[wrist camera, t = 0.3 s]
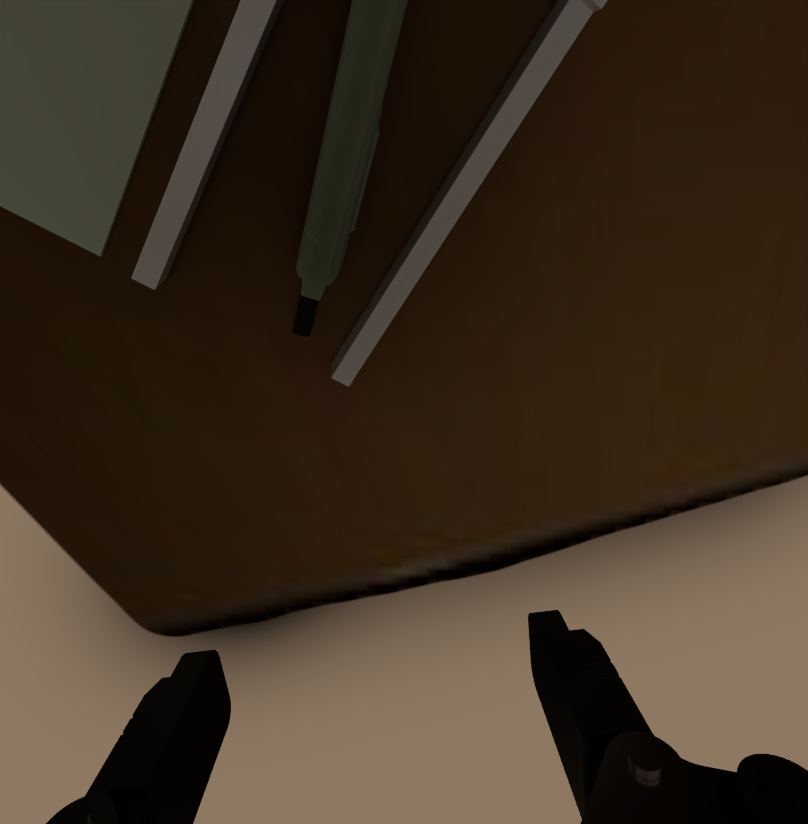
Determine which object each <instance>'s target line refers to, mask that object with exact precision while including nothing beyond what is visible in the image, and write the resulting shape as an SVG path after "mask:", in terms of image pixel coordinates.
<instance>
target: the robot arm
mask: <svg viewBox="0 0 808 824" xmlns="http://www.w3.org/2000/svg"><path fill="white" fill-rule="evenodd" d="M528 623H529V640H530V655H531V668H532V674H533V678H534V683H535V687H536V690H537V693H538V696H539V699H540V701H541V704H542V707H543V710H544V713H545V715H546V718H547V721H548V724H549V727H550V730H551V733H552V736H553V738H554V741H555V744H556V747H557V750H558V753H559V756H560V758H561V761H562V764H563V767H564V770H565V773H566V775H567V778H568V781H569V784H570V787H571V789H572V792H573V795H574V798H575V801H576V804H577V806H578V809H579V812H580V815H581V818H582V821H581V824H808V771H807V770H806V769H804V768H803V767H801V766H799V765H798V764H796V763H794V762H792V761H790V760H787V759H785V758H782V757H779V756H775V755H770V754H754V755H750V756H748V757H746V758H744V759H743V760H742V761H741V762H740V763H739V766H738V768H737V772H732V771H727V770H722V769H715V768H711V767H706V766H701V765H697V764H694V763H691V762H688V761H686V760H684V759H682V758H680V757H679V755H678V754H677V752H676V751H675V750H674V749H673V748H672V747H671V746H669V745H668V744H666V742H664V741H662V740H661V739H659V738H657V737H655V736H654V735H653V733H652V732H651V730H650V728H649V726H648V725H647V723H646V721H645V719H644V718H643V716H642V714H641V713H640V711H639V709H638V707H637V705H636V704H635V702H634V700H633V698H632V697H631V695H630V693H629V692H628V690H627V688H626V686H625V684H624V683H623V681H622V679H621V678H619V675H618V672H617V670H616V669H615V667H614V665H613V664H612V663H611V661H610V658H609V657H608V655H607V653H606V651H605V650H604V648H603V646H602V644H601V643H600V642H599V641H598V640H597V639H595V638H594V637H593V636H592V635H591V634H589V633H588V632H587V631H586V630H585V629H579V630H572V631H569V629H568V627H567V625H566V623H565V621H564V620H563V617H562V615H561V613H560V612H559V611H558V610H553V611H544V612H537V613H529V616H528ZM230 714H231V701H230V695H229V692H228V688H227V684H226V680H225V676H224V672H223V668H222V665H221V661H220V657H219V654H218V652H217V651H216V650H208V651H200V652H192V653H185V654H184V655H183V656H182V657H181V659H180V661H179V662H178V664H177V666H176V668H175V670H174V671H173V673H172V675H171V677H166V678H162V679H161V680H160V681H159V682H157V684H155V686H153V688H152V689H150V691H148V692H147V693H146V694H145V695H144V697H143V698H142V700H141V702H140V703H139V705H138V707H137V709H136V710H135V712H134V714H133V718H132V719H130V721H129V722H128V724H127V726H126V727H125V729H124V731H123V735H121V736H120V738H119V739H118V741H117V743H116V744H115V746H114V748H113V749H112V751H111V753H110V755H109V756H108V758H107V760H106V761H105V763H104V765H103V766H102V768H101V770H100V772H99V773H98V775H97V777H96V778H95V780H94V782H93V783H92V785H91V787H90V789H89V790H88V792H87V794H86V795H85V797H83V798H80V799H78V800H76V801H74V802H72V803H70V804H69V805H67V806H66V807H64V808H63V809H62V810H60V811H59V812H58V813H56V814H55V815H54V816H53V817H52V818H51V819H50V820H49V821H48V822H47V823H46V824H193V822H194V820H195V817H196V814H197V811H198V808H199V806H200V803H201V800H202V797H203V794H204V792H205V789H206V786H207V783H208V781H209V778H210V775H211V772H212V770H213V767H214V764H215V761H216V758H217V756H218V753H219V750H220V747H221V745H222V742H223V739H224V736H225V734H226V731H227V728H228V725H229V720H230Z"/></svg>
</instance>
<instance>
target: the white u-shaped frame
mask: <svg viewBox="0 0 808 824" xmlns="http://www.w3.org/2000/svg"><path fill="white" fill-rule="evenodd" d="M606 1H607V0H557V1H556V3H555V4H554V6H553V8H552V9H551V11H550V12H549V14H548V16H547V17H546V19H545V20H544V22H543V24H542V25H541V27H540V28H539V30H538V32H537V33H536V35H535V36H534V38H533V40H532V41H531V43H530V45H529V46H528V48H527V49H526V51H525V53H524V54H523V56H522V57H521V59H520V61H519V62H518V64H517V65H516V67H515V69H514V70H513V72H512V74H511V75H510V77H509V78H508V80H507V82H506V83H505V85H504V86H503V88H502V90H501V91H500V93H499V94H498V96H497V98H496V99H495V101H494V102H493V104H492V106H491V107H490V109H489V111H488V112H487V114H486V115H485V117H484V119H483V120H482V122H481V123H480V125H479V127H478V128H477V130H476V131H475V133H474V135H473V136H472V138H471V140H470V141H469V143H468V144H467V146H466V148H465V149H464V151H463V152H462V154H461V156H460V157H459V159H458V160H457V162H456V164H455V165H454V167H453V169H452V170H451V172H450V173H449V175H448V177H447V178H446V180H445V181H444V183H443V185H442V186H441V188H440V189H439V191H438V193H437V194H436V196H435V197H434V199H433V201H432V202H431V204H430V206H429V207H428V209H427V210H426V212H425V214H424V215H423V217H422V218H421V220H420V222H419V223H418V225H417V226H416V228H415V230H414V231H413V233H412V235H411V236H410V238H409V239H408V241H407V243H406V244H405V246H404V247H403V249H402V251H401V252H400V254H399V255H398V257H397V259H396V260H395V262H394V263H393V265H392V267H391V268H390V270H389V272H388V273H387V275H386V276H385V278H384V280H383V281H382V283H381V284H380V286H379V288H378V289H377V291H376V292H375V294H374V296H373V297H372V299H371V301H370V302H369V304H368V305H367V307H366V309H365V310H364V312H363V313H362V315H361V317H360V318H359V320H358V321H357V323H356V325H355V326H354V328H353V329H352V331H351V333H350V334H349V336H348V338H347V339H346V341H345V342H344V344H343V346H342V347H341V349H340V350H339V352H338V354H337V355H336V357H335V358H334V360H333V362H332V363H331V378H332V379H334V380H336V381H338V382H340V383H342V384H344V385H346V386H348V387H349V385H350V384H351V382H352V381H353V379H354V378H355V376H356V375H357V373H358V372H359V370H360V369H361V367H362V365H363V364H364V362H365V361H366V359H367V358H368V356H369V355H370V353H371V352H372V350H373V349H374V347H375V346H376V344H377V342H378V341H379V339H380V338H381V336H382V335H383V333H384V332H385V330H386V329H387V327H388V326H389V324H390V323H391V321H392V320H393V318H394V316H395V315H396V313H397V312H398V310H399V309H400V307H401V306H402V304H403V303H404V301H405V300H406V298H407V297H408V295H409V293H410V292H411V290H412V289H413V287H414V286H415V284H416V283H417V281H418V280H419V278H420V277H421V275H422V274H423V272H424V270H425V269H426V267H427V266H428V264H429V263H430V261H431V260H432V258H433V257H434V255H435V254H436V252H437V251H438V249H439V248H440V246H441V244H442V243H443V241H444V240H445V238H446V237H447V235H448V234H449V232H450V231H451V229H452V228H453V226H454V225H455V223H456V221H457V220H458V218H459V217H460V215H461V214H462V212H463V211H464V209H465V208H466V206H467V205H468V203H469V202H470V200H471V198H472V197H473V195H474V194H475V192H476V191H477V189H478V188H479V186H480V185H481V183H482V182H483V180H484V179H485V177H486V175H487V174H488V172H489V171H490V169H491V168H492V166H493V165H494V163H495V162H496V160H497V159H498V157H499V156H500V154H501V153H502V151H503V149H504V148H505V146H506V145H507V143H508V142H509V140H510V139H511V137H512V136H513V134H514V133H515V131H516V130H517V128H518V126H519V125H520V123H521V122H522V120H523V119H524V117H525V116H526V114H527V113H528V111H529V110H530V108H531V107H532V105H533V103H534V102H535V100H536V99H537V97H538V96H539V94H540V93H541V91H542V90H543V88H544V87H545V85H546V84H547V82H548V81H549V79H550V77H551V76H552V74H553V73H554V71H555V70H556V68H557V67H558V65H559V64H560V62H561V61H562V59H563V58H564V56H565V54H566V53H567V51H568V50H569V48H570V47H571V45H572V44H573V42H574V41H575V39H576V38H577V36H578V35H579V33H580V31H581V30H582V28H583V27H584V25H585V24H586V22H587V21H588V19H589V18H590V16H591V15H592V13H593V12H595V11H598V10H600V9H602V7H603V6H604V4H605V3H606ZM283 2H284V0H241V1H240V3H239V6H238V8H237V11H236V13H235V16H234V19H233V21H232V24H231V26H230V29H229V31H228V34H227V36H226V39H225V41H224V44H223V47H222V49H221V52H220V54H219V57H218V59H217V62H216V64H215V67H214V69H213V72H212V74H211V77H210V80H209V82H208V85H207V87H206V90H205V92H204V95H203V97H202V100H201V102H200V105H199V107H198V110H197V113H196V115H195V118H194V120H193V123H192V125H191V128H190V130H189V133H188V135H187V138H186V140H185V143H184V146H183V148H182V151H181V153H180V156H179V158H178V161H177V163H176V166H175V168H174V171H173V174H172V176H171V179H170V181H169V184H168V186H167V189H166V191H165V194H164V196H163V199H162V201H161V204H160V207H159V209H158V212H157V214H156V217H155V219H154V222H153V224H152V227H151V229H150V232H149V234H148V237H147V240H146V242H145V245H144V247H143V250H142V252H141V255H140V257H139V260H138V262H137V265H136V267H135V270H134V273H133V275H132V279H134V280H136V281H138V282H140V283H142V284H144V285H146V286H148V287H150V288H152V289H154V290H156V288H157V287H158V286H159V285H160V284H161V283H162V282H163V281H164V280H165V279H166V278H167V275H168V273H169V271H170V268H171V266H172V264H173V261H174V259H175V256H176V254H177V252H178V249H179V247H180V245H181V242H182V240H183V238H184V235H185V233H186V231H187V228H188V226H189V224H190V221H191V219H192V216H193V214H194V212H195V209H196V207H197V205H198V202H199V200H200V198H201V195H202V193H203V191H204V188H205V186H206V184H207V181H208V179H209V176H210V174H211V172H212V169H213V167H214V165H215V162H216V160H217V158H218V155H219V153H220V151H221V148H222V146H223V144H224V141H225V139H226V137H227V134H228V132H229V129H230V127H231V125H232V122H233V120H234V118H235V115H236V113H237V111H238V108H239V106H240V104H241V101H242V99H243V97H244V94H245V92H246V89H247V87H248V85H249V82H250V80H251V78H252V75H253V73H254V71H255V68H256V66H257V64H258V61H259V59H260V57H261V54H262V52H263V49H264V47H265V45H266V42H267V40H268V38H269V35H270V33H271V31H272V28H273V26H274V24H275V21H276V19H277V17H278V14H279V12H280V9H281V7H282V5H283Z"/></svg>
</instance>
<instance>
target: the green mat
mask: <svg viewBox="0 0 808 824" xmlns="http://www.w3.org/2000/svg"><path fill="white" fill-rule="evenodd" d="M194 1H195V0H0V206H1V207H3V208H5V209H7V210H9V211H11V212H13V213H15V214H17V215H19V216H21V217H23V218H25V219H27V220H29V221H31V222H33V223H35V224H37V225H39V226H41V227H43V228H45V229H47V230H49V231H51V232H53V233H55V234H57V235H59V236H61V237H63V238H65V239H67V240H69V241H71V242H73V243H75V244H77V245H78V246H80V247H82V248H84V249H86V250H88V251H90V252H92V253H94V254H96V255H98V256H102V255H103V254H104V251H105V248H106V245H107V243H108V240H109V237H110V234H111V232H112V229H113V226H114V223H115V220H116V218H117V215H118V212H119V209H120V207H121V204H122V201H123V198H124V195H125V193H126V190H127V187H128V184H129V182H130V179H131V176H132V173H133V171H134V168H135V165H136V162H137V159H138V157H139V154H140V151H141V148H142V146H143V143H144V140H145V137H146V135H147V132H148V129H149V126H150V123H151V121H152V118H153V115H154V112H155V110H156V107H157V104H158V101H159V98H160V96H161V93H162V90H163V87H164V85H165V82H166V79H167V76H168V74H169V71H170V68H171V65H172V62H173V60H174V57H175V54H176V51H177V49H178V46H179V43H180V40H181V38H182V35H183V32H184V29H185V26H186V24H187V21H188V18H189V15H190V13H191V10H192V7H193V4H194Z"/></svg>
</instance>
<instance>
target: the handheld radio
mask: <svg viewBox="0 0 808 824" xmlns="http://www.w3.org/2000/svg"><path fill="white" fill-rule="evenodd" d="M351 1H352V4H351V8H350V13H349V18H348V22H347V27H346V32H345V37H344V41H343V46H342V51H341V55H340V60H339V65H338V70H337V74H336V79H335V84H334V88H333V93H332V98H331V103H330V107H329V112H328V117H327V121H326V126H325V131H324V136H323V140H322V145H321V150H320V154H319V159H318V164H317V169H316V173H315V178H314V183H313V187H312V192H311V197H310V202H309V206H308V211H307V216H306V220H305V225H304V230H303V235H302V239H301V244H300V249H299V253H298V258H297V263H296V272H297V274H298V276H299V277H301V278H302V287H301V295H300V300H299V304H298V309H297V313H296V318H295V322H294V327H293V332H294V333H295V334H297V335H300V336H309V335H310V333H311V328H312V324H313V320H314V316H315V312H316V308H317V304H318V301H320V299H321V297H322V294H323V292H324V289H325V287H326V286H328V285H330V284H332V282H333V281H334V280H335V278H336V277H337V275H338V274H339V272H340V269H341V267H342V264H343V259H344V256H345V253H346V249H347V245H348V241H349V237H350V234H351V233H352V232H353V231H354V230H355V227H356V222H357V219H358V215H359V211H360V207H361V203H362V199H363V195H364V192H365V188H366V184H367V180H368V176H369V172H370V168H371V165H372V161H373V157H374V153H375V149H376V145H377V141H378V138H379V135H380V132H379V127H378V125H379V121H380V117H381V113H382V109H383V106H382V102H383V98H384V94H385V90H386V86H387V82H388V78H389V74H390V70H391V66H392V62H393V58H394V54H395V50H396V46H397V42H398V38H399V34H400V30H401V26H402V22H403V18H404V15H405V11H406V6H407V2H408V0H351Z"/></svg>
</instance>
